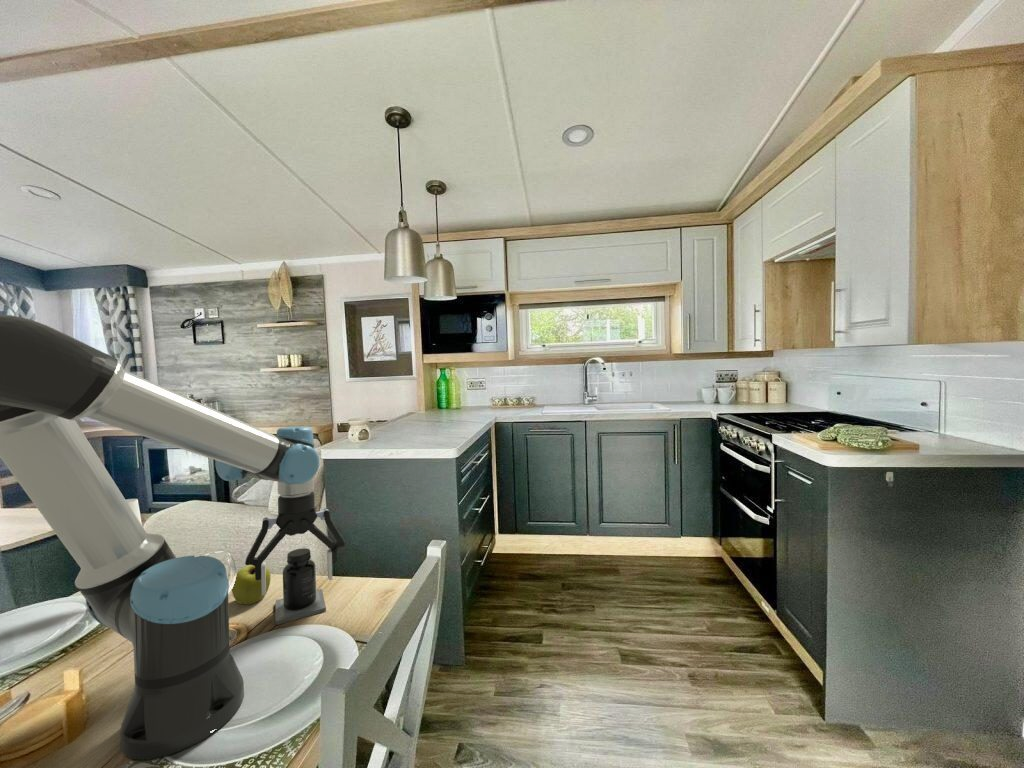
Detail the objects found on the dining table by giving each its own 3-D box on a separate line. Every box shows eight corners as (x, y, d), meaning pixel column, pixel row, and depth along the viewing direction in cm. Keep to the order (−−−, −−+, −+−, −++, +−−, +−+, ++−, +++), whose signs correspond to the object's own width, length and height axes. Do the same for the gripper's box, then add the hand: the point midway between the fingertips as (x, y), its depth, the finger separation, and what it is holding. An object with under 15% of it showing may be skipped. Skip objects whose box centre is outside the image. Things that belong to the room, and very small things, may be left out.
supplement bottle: (276, 609, 93) (274, 556, 93) (300, 594, 100) (298, 544, 100) (300, 613, 91) (298, 559, 91) (323, 597, 98) (321, 547, 98)
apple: (233, 591, 102) (245, 551, 102) (268, 596, 104) (280, 557, 104) (219, 608, 94) (233, 565, 95) (257, 613, 96) (270, 571, 97)
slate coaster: (326, 610, 94) (325, 607, 94) (275, 624, 89) (275, 620, 89) (321, 591, 102) (321, 588, 102) (275, 603, 97) (275, 599, 97)
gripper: (351, 483, 105) (352, 566, 105) (233, 497, 92) (234, 592, 92) (355, 489, 98) (357, 577, 98) (229, 506, 86) (231, 607, 86)
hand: (298, 585), depth 95 cm, fingers open, 13 cm apart
